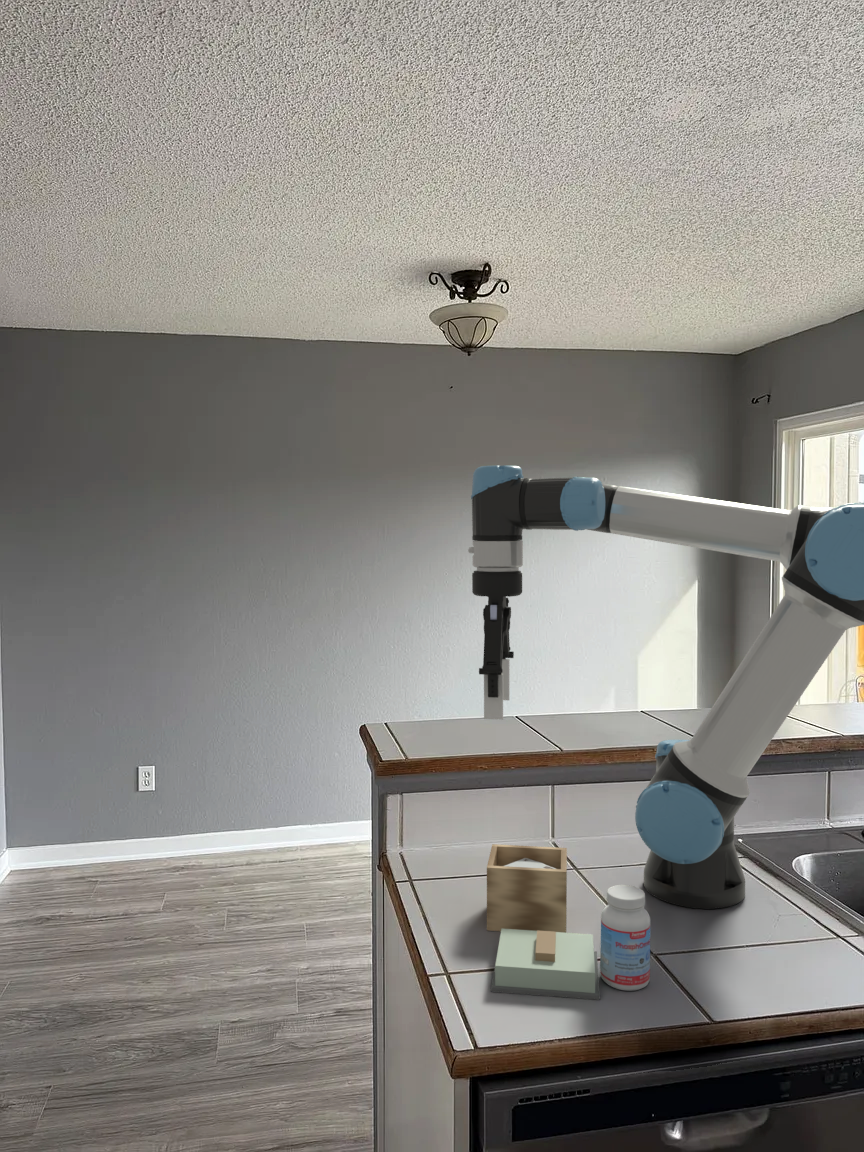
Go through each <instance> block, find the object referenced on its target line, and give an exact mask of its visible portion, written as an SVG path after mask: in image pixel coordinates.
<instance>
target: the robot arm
mask: <svg viewBox="0 0 864 1152" xmlns="http://www.w3.org/2000/svg"><path fill="white" fill-rule="evenodd" d="M470 497H471V499H470V500H471V516H472V517H471V518H472V519H471V521H472V524H471V526H472V536H471V539H472V546H470V547H468V549H467V550H468V551H467V552H468V553H469V554H473V555H472V566H473V567H474V568H476V570H473V572H472V575H471V576H472V577H471V580H472V581H471V582H472V583H471V584H472V587H471V589H472V590H471V592H472V594H473V596H474V595H475V596H476V597H487V599H488V601H487V604H485V606H484V608H483V609H482V610H483V611H482V618H483V635H484V636H483V637H484V640H483V641H484V642H483V659H482V660H483V664H482V666H481V667H478V674H479V675H483V719H484V720H501V721H502V720H503V719H504V701H510V659H514V656H515V655H514V651H511V647H510V628H511V616H512V607H511V606H509V604H510V599H509V598H511V597H518V596H520V595H522V593H523V573H522V571H521V570H519V569H520V568H521V567H522V566H524V565H523V563H524V562H523V561H524V560H523V558H524V555H523V554H524V553H523V549H524V548H523V547H524V545H523V543H524V542H523V530H527V531H528V530H551V531H552V530H554V531H557V530H561V531H564V530H568V531H569V530H573V531H576V532H578V531H584V530H586V531H593V532H600V533H606V534H612V535H619V536H626V537H631V538H638V539H644V540H648V541H654V542H660V543H661V542H662V543H666V544H671V545H672V544H673V545H678V546H679V545H680V546H684V547H690V548H694V549H695V548H696V549H702V550H708V551H714V552H720V553H726V554H731V555H732V554H733V555H738V556H742V557H750V558H756V559H761V560H766V561H767V560H768V561H774V562H779V563H780V564H782V566H783V567H784V569H785V571H784V574H782V577H781V581H782V585H783V589H784V596H783V597H782V598H781V600H780V602H779V603H778V605H777V606H776V608H775V609H774V611H773V613H772V614H771V616H770V617H769V619H768V620H767V622H765V624H764V626H763V628H762V630H760V633H759V634H758V636H757V637H756V639H755V640H754V641H753V644H752V645H751V646H750V648H749V649H748V651H747V653H745V656H744V657H743V659H742V661H740V663H739V665H738V667H737V668H736V669H735V671H734V672H733V674H732V675H731V677H730V679H729V681H728V682H727V683H726V685H725V686H724V688H723V689H722V691H721V693H720V694H719V696H718V697H717V699H716V701H715V702H714V704H713V705H712V707H711V708H710V709H709V712H708V713H707V714H706V715H705V717H704V719H703V721H702V722H701V724H700V725H699V727H698V728H697V729H696V732H695V733H694V734H693V736H692V738H690V739H665V740H662V741H660V742H658V744H657V746H656V753H655V755H654V758H655V759H656V760H655V761H656V767H655V769H656V770H655V773H654V775H653V777H652V778H651V779H650V780H649V783H648V785H646V788H644V790H642V792H641V793H640V794H639V795H638V798H637V801H636V805H635V813H634V820H635V826H636V829H637V833H638V834H639V835H638V836H639V837H640V838H641V840H642V842H643V843H644V845H646V847H648V849H649V850H650V851H649V854H648V857H647V859H646V862H645V866H644V867H643V886H644V888H645V890H646V891H647V892H648V893H649V894H650V895H652V896H654V897H655V898H657V899H659V900H662V901H664V902H666V903H669V904H672V905H676V906H681V907H686V908H693V909H704V910H705V909H707V910H711V909H723V908H724V909H725V908H728V907H733V906H735V905H738V904H739V903H740V902H742V901H743V900H744V899H745V897H746V878H745V874H744V871H743V868H742V866H741V861H740V858H739V855H738V853H737V849H736V846H735V816H736V815H737V813H738V812H739V811H740V809H741V807H742V806H743V804H744V803H745V801H746V800H747V798H748V797H749V795H750V793H751V792H750V786H749V782H748V778H747V777H748V775H749V774H750V772H751V771H752V769H753V768H754V766H755V765H756V763H757V762H758V760H759V759H760V757H762V755H763V753H764V752H765V750H766V749H767V747H768V745H769V744H770V743H771V741H772V740H773V739H774V737H775V736H776V734H777V733H778V730H780V728H781V726H782V725H783V724H784V722H785V721H786V720H787V717H788V716H789V715H790V713H791V712H792V710H793V709H794V707H795V706H796V704H797V703H798V701H799V699H800V698H801V697H802V695H803V694H804V693H805V691H806V690H807V688H808V687H809V685H810V684H811V682H812V681H813V679H814V678H815V676H816V675H817V673H818V672H819V670H820V669H821V668H822V666H823V664H824V663H825V661H826V660H827V659H828V657H829V655H830V654H831V653H832V651H833V650H834V648H835V647H836V645H837V643H839V641H840V640H841V638H842V636H843V635H844V633H845V632H846V631H847V630H848V629H852V628H856V627H861V626H864V502H852V503H851V502H849V503H845V504H842V505H838V506H836V507H835V506H833V507H832V506H831V507H830V506H829V507H828V506H826V507H825V506H812V505H803V504H798V505H797V506H795V507H793V508H792V509H784V508H776V507H768V506H761V505H755V504H747V503H742V502H741V503H740V502H735V501H726V500H721V499H720V500H719V499H714V498H706V497H699V496H691V495H684V494H678V493H671V492H663V491H658V490H657V491H655V490H649V489H642V488H635V487H629V486H619V485H614V484H608V483H607V484H606V483H603V482H602V481H601V480H600V479H599V478H596V477H584V476H572V477H554V478H553V477H550V478H524V475H523V469H522V467H520V466H518V465H506V464H505V465H498V464H497V465H481V466H478V467H477V468H475V469H474V472H473V474H472V489H471V495H470Z"/></svg>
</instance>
